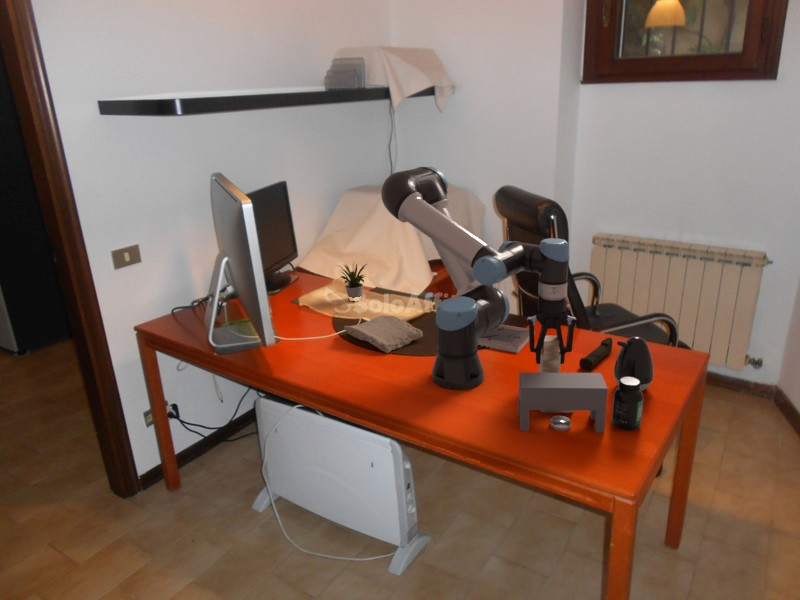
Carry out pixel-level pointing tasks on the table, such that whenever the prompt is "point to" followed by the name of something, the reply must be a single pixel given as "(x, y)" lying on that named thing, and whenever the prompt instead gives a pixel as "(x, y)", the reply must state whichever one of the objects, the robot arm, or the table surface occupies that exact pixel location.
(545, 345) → the ash-wood pusher
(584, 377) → the grey step stool
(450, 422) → the table surface
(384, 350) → the flat stone slab
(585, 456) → the table surface
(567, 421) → the steel token
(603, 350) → the hand tool
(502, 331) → the picture frame
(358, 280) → the house plant
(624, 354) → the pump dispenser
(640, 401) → the supplement bottle
